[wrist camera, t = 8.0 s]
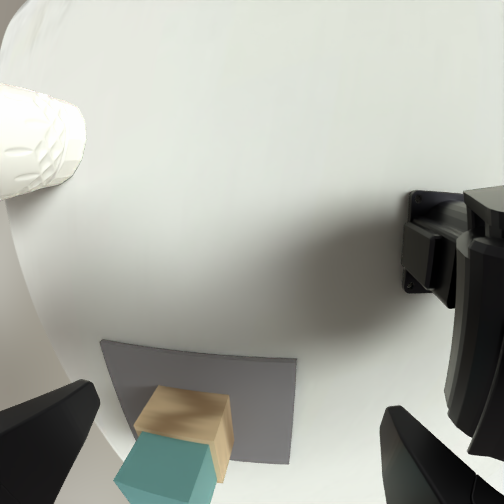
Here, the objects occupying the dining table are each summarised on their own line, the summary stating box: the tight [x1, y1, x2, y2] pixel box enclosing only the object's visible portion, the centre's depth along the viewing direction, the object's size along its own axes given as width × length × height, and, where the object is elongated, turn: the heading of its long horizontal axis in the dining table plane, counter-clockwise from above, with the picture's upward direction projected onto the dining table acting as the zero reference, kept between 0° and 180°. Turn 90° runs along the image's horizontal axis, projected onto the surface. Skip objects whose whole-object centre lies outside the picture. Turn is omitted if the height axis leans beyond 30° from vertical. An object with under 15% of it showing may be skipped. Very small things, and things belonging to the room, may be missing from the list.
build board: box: [100, 340, 297, 464], centre depth 23 cm, size 16×13×1 cm
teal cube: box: [113, 431, 217, 504], centre depth 15 cm, size 5×5×5 cm
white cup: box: [0, 83, 86, 201], centre depth 14 cm, size 8×8×10 cm
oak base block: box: [134, 385, 234, 483], centre depth 20 cm, size 6×6×5 cm
